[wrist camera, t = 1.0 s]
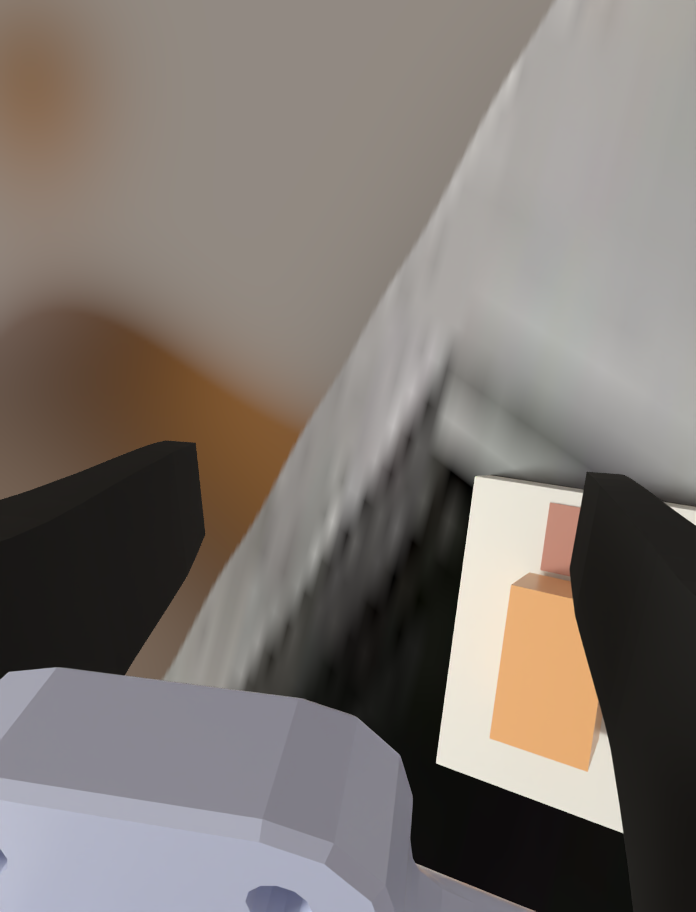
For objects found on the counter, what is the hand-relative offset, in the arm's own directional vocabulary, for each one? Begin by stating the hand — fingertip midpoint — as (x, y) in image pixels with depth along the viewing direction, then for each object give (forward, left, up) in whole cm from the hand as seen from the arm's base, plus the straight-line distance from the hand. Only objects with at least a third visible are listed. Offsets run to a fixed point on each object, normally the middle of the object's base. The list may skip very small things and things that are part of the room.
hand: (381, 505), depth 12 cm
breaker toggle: (-6, -2, -12) cm, 14 cm away
